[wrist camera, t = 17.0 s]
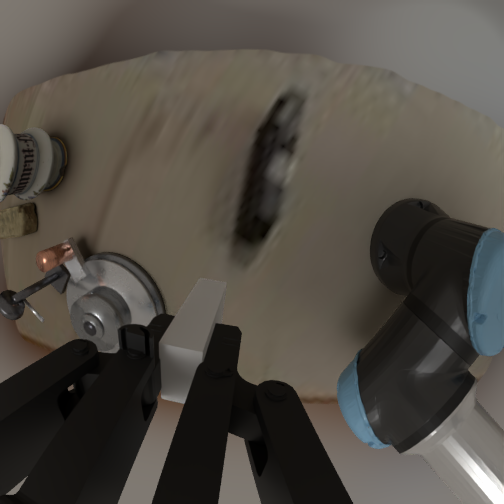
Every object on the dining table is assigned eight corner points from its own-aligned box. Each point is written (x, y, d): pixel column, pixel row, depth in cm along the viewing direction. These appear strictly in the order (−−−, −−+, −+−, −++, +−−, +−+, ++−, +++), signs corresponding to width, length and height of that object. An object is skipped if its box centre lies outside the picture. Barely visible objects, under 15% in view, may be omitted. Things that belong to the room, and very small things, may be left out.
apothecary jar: (64, 203, 38) (-14, 219, 21) (26, 190, 38) (-44, 201, 20) (79, 133, 35) (0, 121, 18) (38, 128, 35) (-32, 121, 17)
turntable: (106, 212, 36) (72, 220, 28) (180, 337, 41) (163, 369, 33) (45, 262, 39) (14, 277, 31) (108, 364, 44) (87, 391, 35)
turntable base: (187, 303, 42) (184, 307, 40) (136, 368, 45) (133, 373, 44) (97, 228, 39) (93, 230, 38) (63, 306, 43) (59, 309, 42)
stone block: (7, 209, 39) (-9, 213, 34) (37, 200, 38) (19, 203, 34) (10, 236, 40) (-5, 241, 36) (40, 230, 40) (23, 236, 35)
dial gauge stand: (82, 284, 42) (25, 322, 26) (74, 302, 43) (21, 342, 27) (54, 256, 41) (-6, 284, 25) (47, 275, 42) (-8, 306, 26)
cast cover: (112, 277, 38) (92, 292, 32) (141, 327, 39) (126, 347, 34) (78, 296, 39) (58, 310, 33) (105, 340, 41) (89, 359, 35)
